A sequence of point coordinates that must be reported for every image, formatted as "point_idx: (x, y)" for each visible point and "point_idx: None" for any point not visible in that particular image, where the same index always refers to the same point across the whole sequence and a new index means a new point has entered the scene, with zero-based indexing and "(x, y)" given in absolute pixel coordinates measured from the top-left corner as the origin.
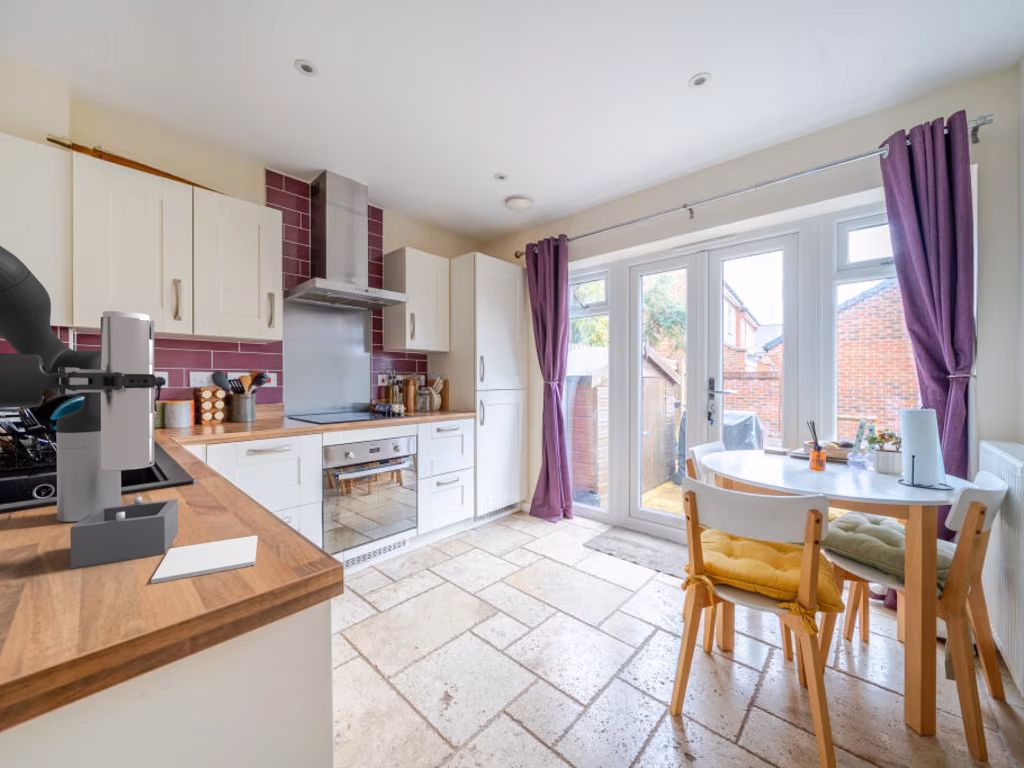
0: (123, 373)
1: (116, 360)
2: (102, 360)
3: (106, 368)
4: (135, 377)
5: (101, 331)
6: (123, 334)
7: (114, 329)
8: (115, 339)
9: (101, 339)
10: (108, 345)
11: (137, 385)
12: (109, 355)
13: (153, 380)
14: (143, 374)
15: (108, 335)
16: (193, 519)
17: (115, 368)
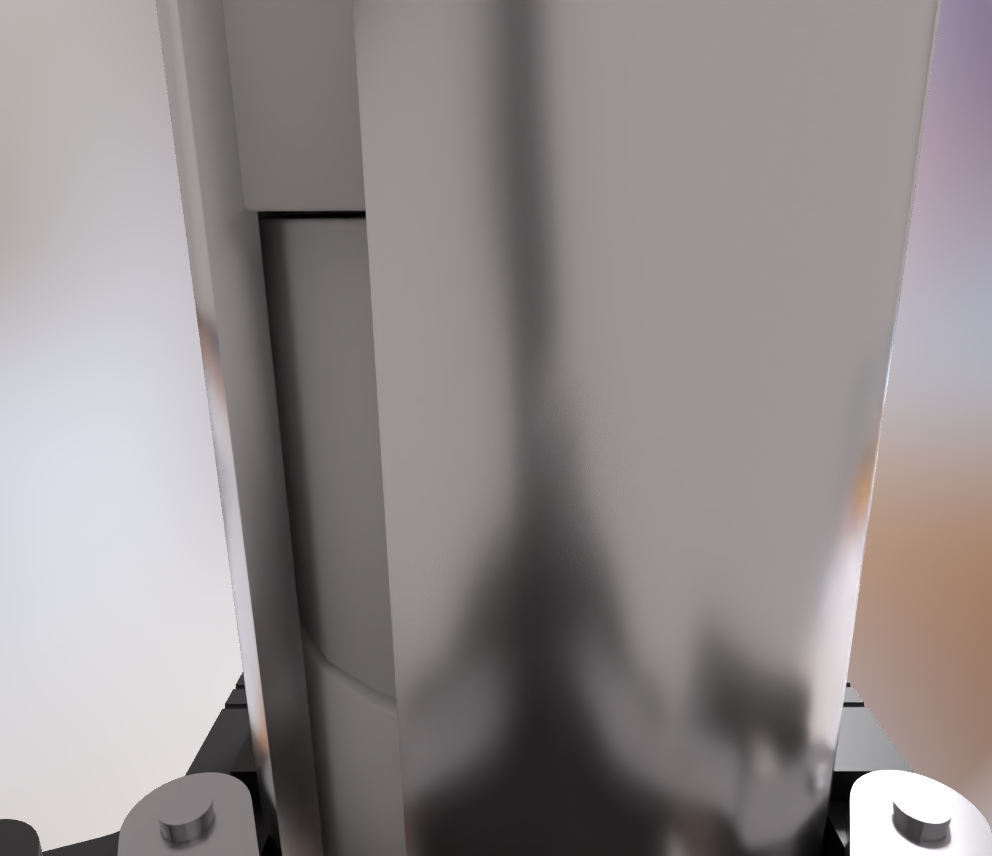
0: (945, 789)
1: (847, 645)
2: (635, 745)
3: (740, 850)
4: (879, 743)
5: (605, 49)
6: (920, 150)
7: (916, 26)
8: (900, 264)
9: (579, 282)
10: (801, 413)
11: None
12: (796, 607)
13: None
14: None
15: (845, 176)
16: None
17: (823, 771)
